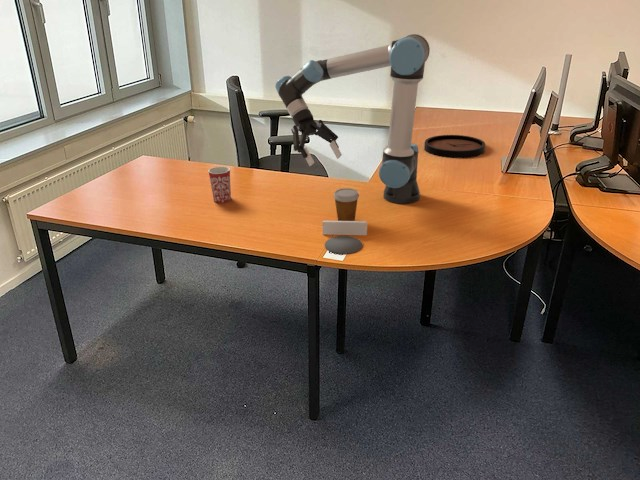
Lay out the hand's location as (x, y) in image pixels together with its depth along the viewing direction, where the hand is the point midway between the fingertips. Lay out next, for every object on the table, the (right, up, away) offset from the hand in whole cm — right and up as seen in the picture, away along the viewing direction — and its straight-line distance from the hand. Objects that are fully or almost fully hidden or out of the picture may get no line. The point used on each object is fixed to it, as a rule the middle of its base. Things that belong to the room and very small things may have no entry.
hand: (326, 160), depth 200 cm
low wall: (+7, -28, -8) cm, 30 cm away
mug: (-44, -12, +27) cm, 53 cm away
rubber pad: (+6, -32, -16) cm, 36 cm away
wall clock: (+69, +18, +83) cm, 110 cm away
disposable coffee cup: (+8, -23, +2) cm, 25 cm away
